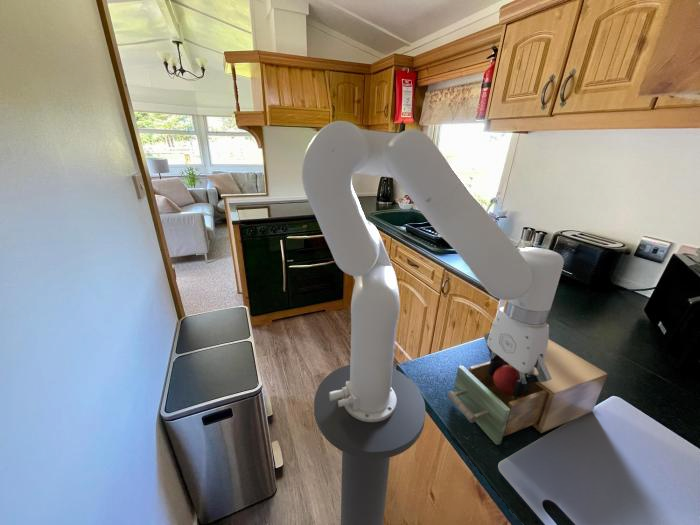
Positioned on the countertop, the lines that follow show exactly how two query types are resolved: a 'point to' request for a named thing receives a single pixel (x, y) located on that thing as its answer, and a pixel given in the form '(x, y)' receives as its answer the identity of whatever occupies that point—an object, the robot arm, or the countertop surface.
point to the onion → (506, 379)
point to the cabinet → (568, 387)
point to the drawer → (495, 403)
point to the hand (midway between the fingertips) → (506, 382)
